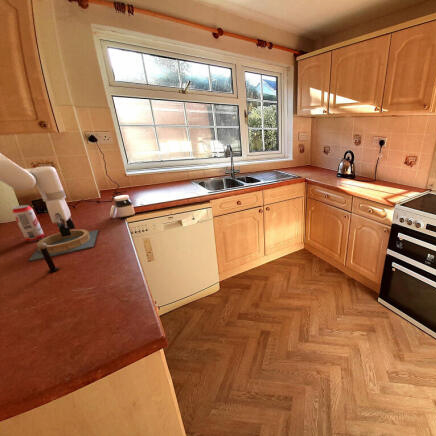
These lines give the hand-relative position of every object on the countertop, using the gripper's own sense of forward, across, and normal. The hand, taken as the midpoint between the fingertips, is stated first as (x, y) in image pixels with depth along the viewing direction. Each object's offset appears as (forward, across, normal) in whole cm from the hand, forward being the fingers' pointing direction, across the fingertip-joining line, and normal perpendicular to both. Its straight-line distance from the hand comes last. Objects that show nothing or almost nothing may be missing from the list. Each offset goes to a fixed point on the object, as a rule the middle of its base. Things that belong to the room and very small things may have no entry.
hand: (68, 232), depth 112 cm
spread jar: (+3, -18, +20) cm, 27 cm away
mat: (+3, +8, 0) cm, 8 cm away
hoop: (+2, +8, 0) cm, 8 cm away
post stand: (+3, +32, 0) cm, 32 cm away
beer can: (+3, -8, -14) cm, 17 cm away
